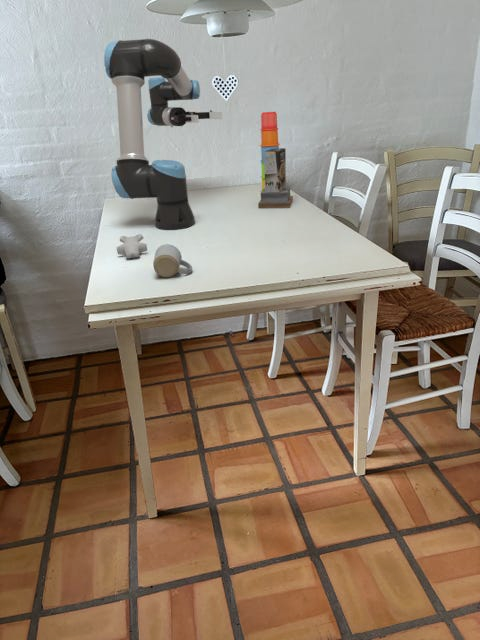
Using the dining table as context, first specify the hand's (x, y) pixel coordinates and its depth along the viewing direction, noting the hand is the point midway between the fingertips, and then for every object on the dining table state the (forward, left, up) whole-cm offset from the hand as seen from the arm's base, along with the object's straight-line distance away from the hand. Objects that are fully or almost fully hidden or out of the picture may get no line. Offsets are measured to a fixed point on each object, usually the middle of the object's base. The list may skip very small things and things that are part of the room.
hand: (209, 117), depth 195 cm
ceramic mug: (-82, -7, -35) cm, 90 cm away
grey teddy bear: (-66, +12, -35) cm, 76 cm away
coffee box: (-3, -27, -29) cm, 40 cm away
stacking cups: (+21, -22, -35) cm, 46 cm away
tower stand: (-3, -27, -35) cm, 44 cm away
